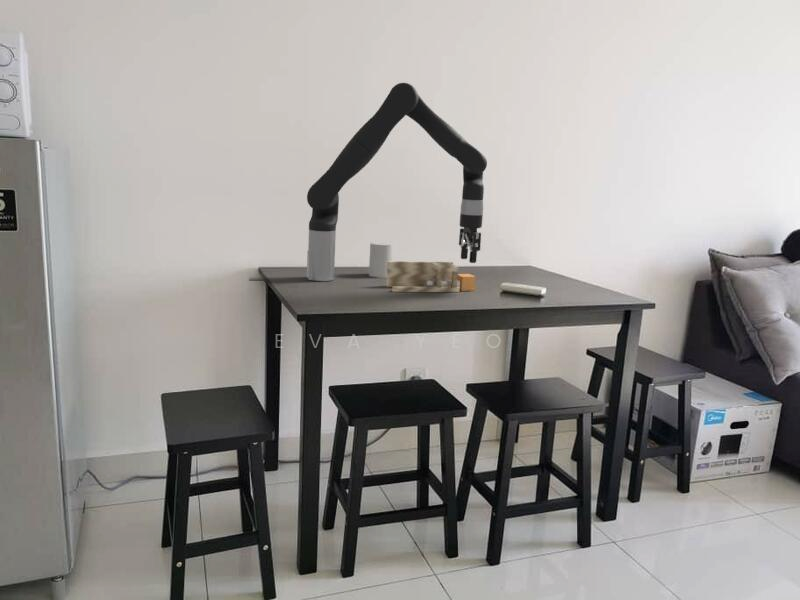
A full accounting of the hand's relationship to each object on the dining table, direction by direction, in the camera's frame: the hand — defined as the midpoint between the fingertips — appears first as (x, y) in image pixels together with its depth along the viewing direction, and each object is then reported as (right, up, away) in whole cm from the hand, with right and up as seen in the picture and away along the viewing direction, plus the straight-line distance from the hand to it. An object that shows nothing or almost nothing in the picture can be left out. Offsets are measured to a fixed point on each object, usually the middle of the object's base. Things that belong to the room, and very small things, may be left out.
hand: (468, 260), depth 215 cm
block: (-1, -10, +2) cm, 10 cm away
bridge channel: (-16, -10, -2) cm, 19 cm away
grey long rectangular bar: (-9, -10, -1) cm, 14 cm away
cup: (-31, -5, +18) cm, 36 cm away
